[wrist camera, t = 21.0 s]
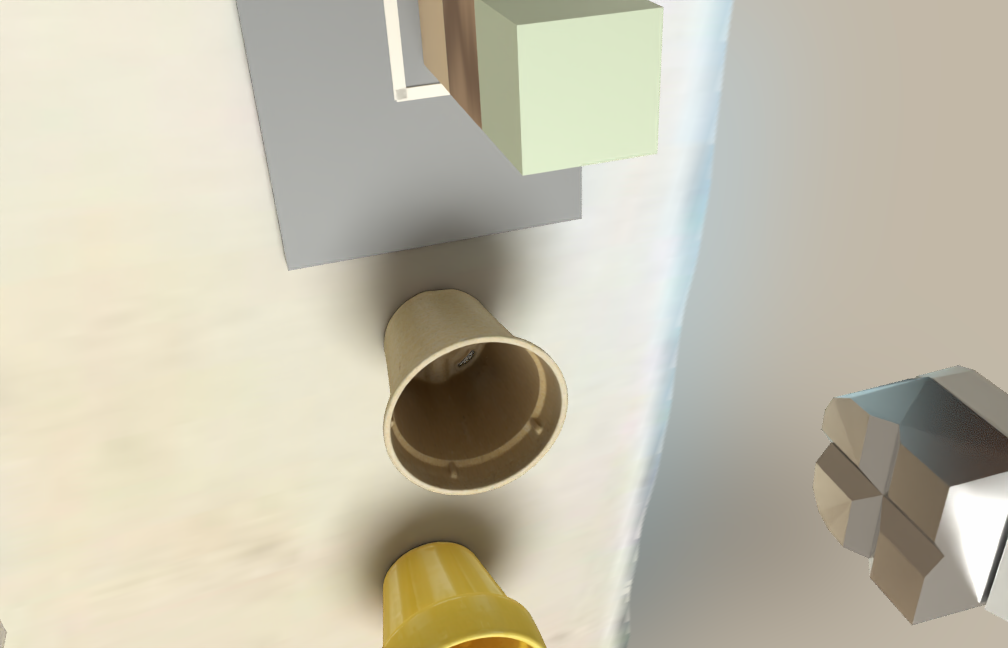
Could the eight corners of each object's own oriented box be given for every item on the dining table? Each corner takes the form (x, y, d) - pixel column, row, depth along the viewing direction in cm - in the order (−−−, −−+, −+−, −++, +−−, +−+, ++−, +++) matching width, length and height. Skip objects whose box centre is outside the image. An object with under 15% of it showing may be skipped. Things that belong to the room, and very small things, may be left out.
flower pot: (389, 239, 48) (426, 318, 41) (541, 282, 52) (598, 359, 45) (331, 385, 52) (356, 481, 44) (478, 414, 56) (522, 506, 49)
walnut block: (440, -29, 37) (473, -6, 32) (556, -42, 38) (603, -21, 34) (449, 93, 39) (481, 129, 35) (558, 78, 40) (602, 111, 36)
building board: (178, -297, 35) (178, -310, 30) (573, -311, 38) (629, -325, 33) (286, 263, 47) (299, 317, 42) (576, 212, 51) (617, 257, 46)
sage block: (473, -6, 32) (516, 25, 28) (603, -20, 34) (663, 7, 29) (482, 130, 35) (522, 175, 31) (602, 112, 36) (657, 153, 32)
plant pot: (515, 602, 65) (563, 718, 57) (375, 652, 63) (404, 778, 55) (493, 498, 59) (542, 609, 51) (338, 549, 58) (365, 673, 50)
